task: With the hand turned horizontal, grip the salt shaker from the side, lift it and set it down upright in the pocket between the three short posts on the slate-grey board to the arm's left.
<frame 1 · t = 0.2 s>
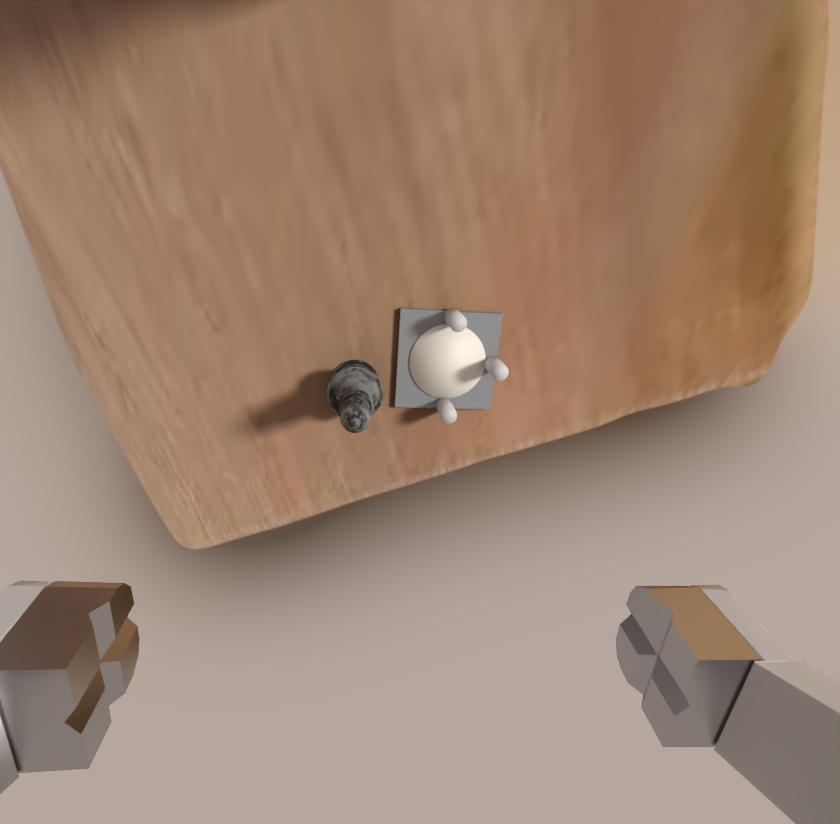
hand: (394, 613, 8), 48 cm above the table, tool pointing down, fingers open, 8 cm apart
pin socket board: (446, 360, 57), on the table
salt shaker: (354, 382, 57), on the table
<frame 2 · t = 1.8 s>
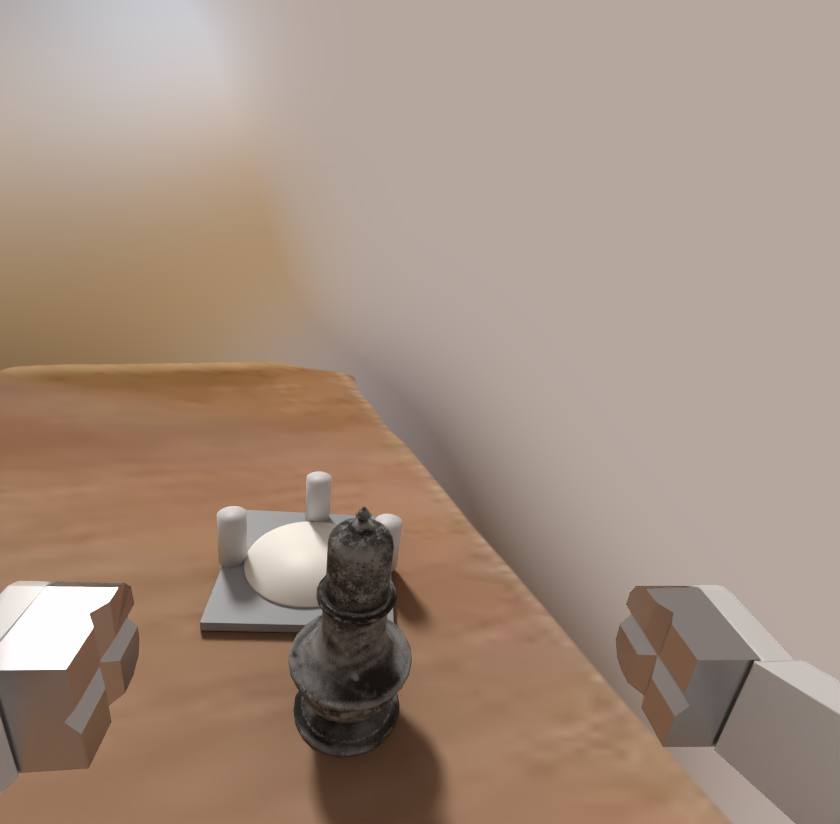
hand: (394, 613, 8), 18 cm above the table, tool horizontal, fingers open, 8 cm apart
pin socket board: (309, 568, 35), on the table
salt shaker: (346, 706, 26), on the table
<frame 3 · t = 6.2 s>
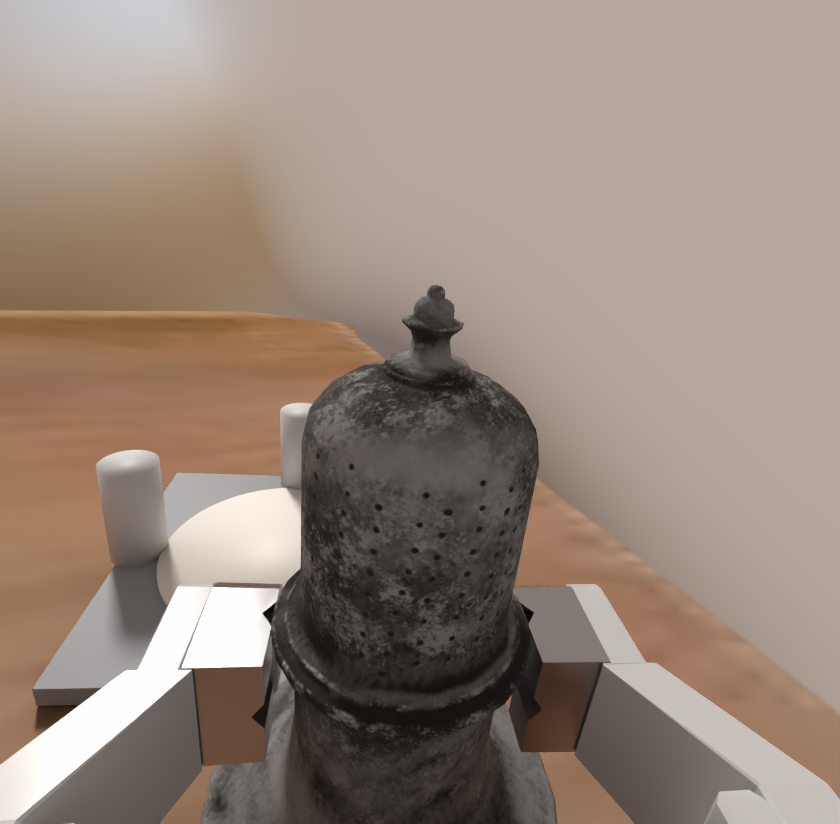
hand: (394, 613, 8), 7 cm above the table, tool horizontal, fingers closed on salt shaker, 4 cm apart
pin socket board: (286, 566, 19), on the table
when the fingers open (9 cm above the table, at t = 10.6 s): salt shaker stays where it is, resting on pin socket board.
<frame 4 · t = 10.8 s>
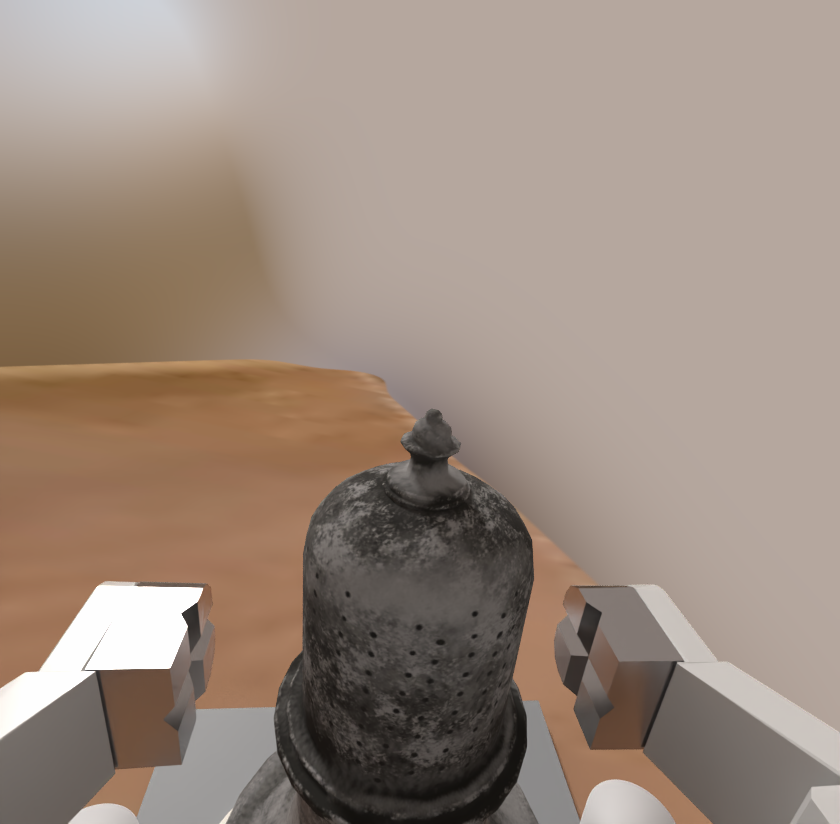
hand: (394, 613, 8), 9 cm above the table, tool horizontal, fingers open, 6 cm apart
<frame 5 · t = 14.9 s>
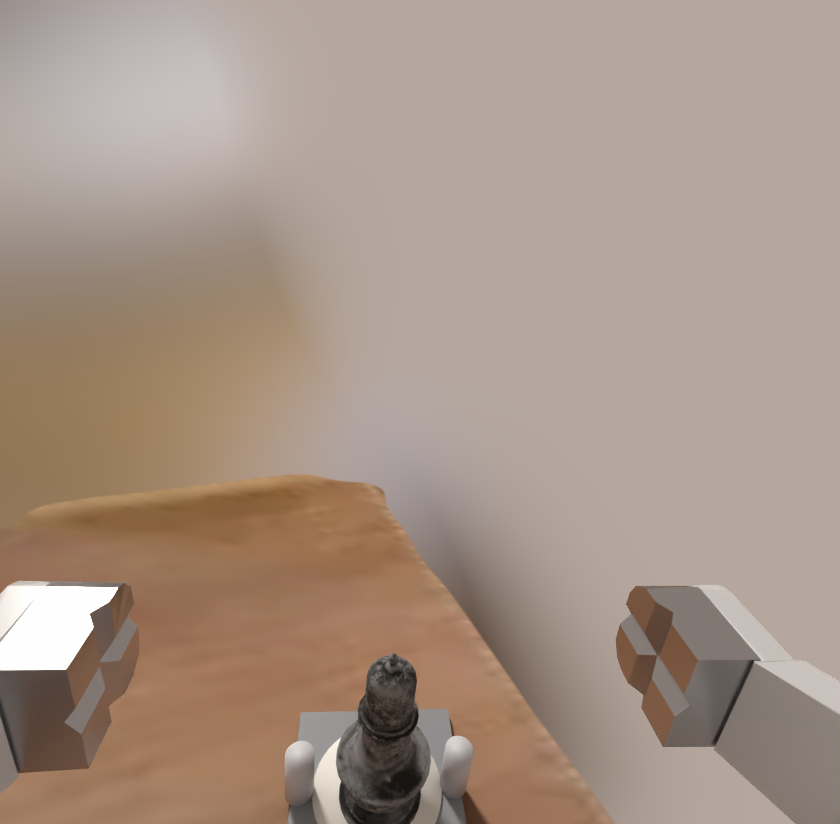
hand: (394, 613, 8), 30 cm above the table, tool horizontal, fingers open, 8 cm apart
pin socket board: (377, 793, 34), on the table
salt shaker: (379, 793, 33), point 1 cm above the table, touching pin socket board
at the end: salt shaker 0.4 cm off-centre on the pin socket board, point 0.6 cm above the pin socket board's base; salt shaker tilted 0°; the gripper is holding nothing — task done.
